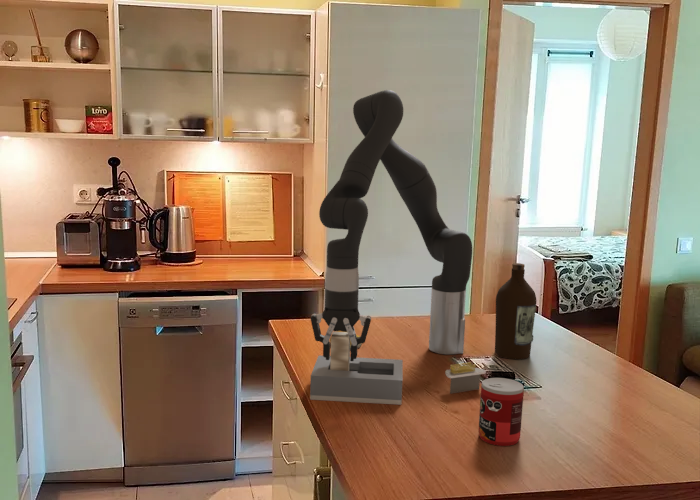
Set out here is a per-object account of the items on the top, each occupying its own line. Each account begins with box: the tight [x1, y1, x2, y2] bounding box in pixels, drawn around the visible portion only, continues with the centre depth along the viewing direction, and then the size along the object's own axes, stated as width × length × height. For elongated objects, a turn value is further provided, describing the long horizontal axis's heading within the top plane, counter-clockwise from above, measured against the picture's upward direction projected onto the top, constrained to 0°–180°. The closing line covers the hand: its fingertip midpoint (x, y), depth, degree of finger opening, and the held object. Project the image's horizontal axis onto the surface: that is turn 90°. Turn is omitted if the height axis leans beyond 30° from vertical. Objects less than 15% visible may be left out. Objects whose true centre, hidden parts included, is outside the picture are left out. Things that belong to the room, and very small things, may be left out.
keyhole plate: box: [309, 355, 404, 406], centre depth 154 cm, size 20×14×6 cm
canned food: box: [478, 377, 525, 447], centre depth 131 cm, size 8×8×11 cm
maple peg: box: [330, 331, 351, 371], centre depth 154 cm, size 6×6×12 cm
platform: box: [445, 362, 487, 394], centre depth 157 cm, size 12×18×7 cm, turn 114°
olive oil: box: [494, 262, 537, 360], centre depth 182 cm, size 11×11×25 cm
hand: (339, 359), depth 154 cm, fingers open, 5 cm apart
